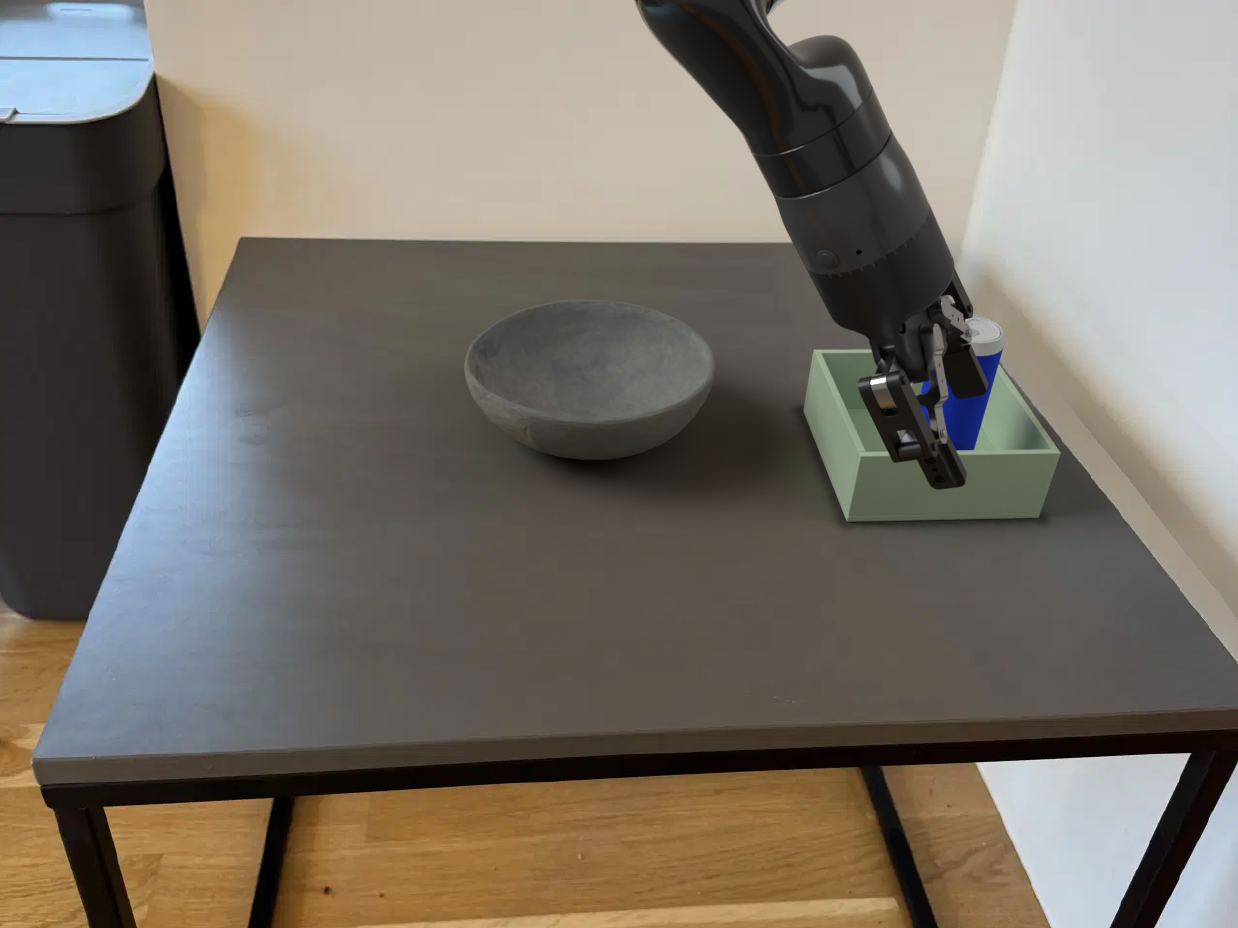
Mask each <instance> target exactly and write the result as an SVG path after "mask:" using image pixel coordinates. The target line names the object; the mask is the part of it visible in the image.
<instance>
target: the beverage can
mask: <svg viewBox="0 0 1238 928" xmlns="http://www.w3.org/2000/svg"><path fill="white" fill-rule="evenodd" d="M965 323H967V324H968V325H969V326H970V329H971V330H972V342H971V343H969V344H971V346H972V348H973V350H974V353H975V355H976V357H977V359H978V361H979V364H980V366H981V368H982V370H983V373H984V375H985V377H986V379H987V382H988V386H987V390H986V393H985V394H984V395H981V396H975V397H970V398H964V399H958V398H956V397H955V396H954V395H953V393H952V391H951V389H950V387H949V385H948V383H947V381H946V384H947V390H948V399H947V400H946V401H945V402H944V403H943V405H942V409H943V415H944V420H945V426H946V431H947V434H948V435H949V437H950V439H951V441H952V443H953V445H954V447H955V449H956V451H959V450H974V449H975V445H976V442H977V438H978V435H979V431H980V428H981V424H982V421H983V417H984V414H985V410H986V407H987V403H988V400H989V396H990V393H991V389H992V386H993V382H994V379H995V375H996V372H997V369H998V365H1000V362H1001V357H1002V355H1003V351H1004V348H1005V339H1004V330H1003V328H1002V327H1001V326H1000V325H999V324H998V323H997V322H995V321H993V320H992V319H989V318H988V317H985V316H982V315H979V314H974V313H973V317H972V318H969V319H965ZM929 388H930V381H927V382H923V385H922V389H921V394H922V393H925V392H927V391H928V390H929ZM921 409H922V411H923V413H924V415H925V417H926V420H927V422H928V424H929V425H930V422H929V417H928V411H927V409H926V407H924V406H921Z"/></svg>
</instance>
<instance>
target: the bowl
mask: <svg viewBox="0 0 1238 928" xmlns="http://www.w3.org/2000/svg"><path fill="white" fill-rule="evenodd" d="M465 355H466V356H465V360H464V364H463V369H464V376H465V381H466V384H467V387H468V390H469V392H470V394H471V396H472V399H473V401H474V402H475V403H476V405H477V406H478V407H479V409H481V411H482V412H483V413H484V414H485V416H486V417H487V418H488V419H489V420H490V421H491V422H492V423H493V424H494V425H495V426H496V427H497V428H499V429H500V430H501V431H502V432H503V433H505V434H506V435H507V436H509V437H510V438H511V439H513V440H515V441H517V442H518V443H520V444H521V445H523V446H525V447H527V448H529V449H531V450H534V451H537V452H540V453H543V454H547V455H550V456H555V457H559V458H566V459H573V460H583V461H584V460H585V461H591V460H592V461H603V460H616V459H622V458H627V457H628V458H629V457H632V456H635V455H636V456H637V455H639V454H642V453H645V452H647V451H650V450H652V449H655V448H657V447H660V446H661V445H663V444H665V443H667V442H668V441H670V440H672V439H673V438H675V436H677V435H678V434H679V433H681V431H683V430H684V428H685V427H686V426H687V425H689V423H690V422H691V421H692V420H693V419H694V418H695V416H697V414H698V413H699V411H700V409H701V408H702V407H703V405H704V404H705V402H706V400H707V398H708V396H709V394H710V392H711V390H712V387H713V385H714V382H715V378H716V374H717V359H716V356H715V354H714V350H713V349H712V347H711V346H710V344H709V342H708V341H707V340H706V339H705V338H704V337H703V336H702V335H701V334H700V333H699V332H697V331H696V330H695V329H693V328H692V327H691V326H689V324H687V323H685V322H684V321H681V320H680V319H677V318H676V317H674V316H671V315H670V314H667V313H664V312H661V311H659V310H656V309H653V308H650V307H648V306H643V305H640V304H634V303H629V302H623V301H614V300H604V299H563V300H555V301H549V302H545V303H540V304H536V305H533V306H529V307H526V308H523V309H520V310H518V311H514V312H512V313H510V314H509V315H507V316H505V317H503V318H501V319H499V320H498V321H495V323H493V324H491V325H490V326H489V327H487V328H486V329H485V330H484V331H482V332H481V333H480V334H478V336H477V337H476V338H475V339H474V340H473V341H472V342H471V344H470V345H469V346H468V350H467V352H466V354H465Z"/></svg>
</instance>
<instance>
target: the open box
mask: <svg viewBox="0 0 1238 928" xmlns="http://www.w3.org/2000/svg"><path fill="white" fill-rule="evenodd" d="M811 356H812V357H811V363H810V369H809V375H808V380H807V387H806V392H805V393H806V394H805V398H804V404H803V410H802V411H803V414H804V416H805V418H806V422H807V424H808V427H809V430H810V432H811V434H812V437H813V440H814V442H815V444H816V447H817V450H818V452H819V455H820V457H821V460H822V462H823V465H824V467H825V470H826V472H827V475H828V478H829V480H830V482H831V485H832V488H833V490H834V493H835V495H836V498H837V501H838V503H839V505H840V508H841V511H842V513H843V516H844V518H845V520H846V522H847V523H852V522H854V523H856V522H857V523H859V522H898V521H899V522H900V521H904V522H905V521H948V520H949V521H952V520H955V521H957V520H997V519H998V520H1000V519H1002V520H1003V519H1004V520H1005V519H1039V518H1040V515H1041V512H1042V509H1043V506H1044V504H1045V500H1046V497H1047V495H1048V492H1049V489H1050V486H1051V484H1052V480H1053V477H1054V475H1055V471H1056V469H1057V466H1058V462H1059V459H1060V457H1061V454H1062V453H1061V451H1060V450H1059V449H1058V447H1057V446H1056V444H1055V443H1054V441H1053V439H1052V438H1051V437H1050V435H1049V434H1048V432H1047V431H1046V429H1045V428H1044V426H1043V425H1042V424H1041V422H1040V421H1039V419H1038V418H1037V417H1036V415H1035V414H1034V412H1033V411H1032V409H1031V408H1030V406H1029V405H1028V404H1027V402H1026V401H1025V400H1024V398H1023V396H1022V395H1021V393H1020V392H1019V391H1018V389H1017V388H1016V386H1015V385H1014V384H1013V381H1012V380H1011V379H1010V378H1009V376H1008V375H1007V373H1006V372H1005V370H1004V369H1003V367H1002V366H1001V364H999V365H998V369H997V372H996V375H995V379H994V382H993V386H992V389H991V393H990V396H989V400H988V403H987V407H986V410H985V414H984V417H983V421H982V424H981V428H980V431H979V435H978V438H977V442H976V445H975V449H974V450H959V451H957V453H958V455H959V457H960V459H961V461H962V464H963V466H964V468H965V470H966V472H967V478H966V482H965V485H964V486H962V487H957V488H949V489H941V490H937V489H934V488H932V487H931V486H930V485H929V483H928V481H927V479H926V477H925V475H924V473H923V471H922V469H921V467H920V465H919V463H918V461H917V460H912V461H906V462H899V463H894V462H893V461H892V459H891V457H890V455H889V453H888V451H887V449H886V447H885V445H884V443H883V441H882V439H881V437H880V435H879V432H878V430H877V428H876V426H875V424H874V422H873V420H872V418H871V416H870V414H869V412H868V410H867V408H866V406H865V404H864V401H863V399H862V397H861V395H860V393H859V389H858V381H859V379H860V378H863V377H868V376H873V375H874V374H875V372H876V369H877V365H875V363H874V361H873V357H872V351H871V348H870V349H866V348H865V349H860V348H859V349H813V351H812V355H811ZM922 385H923V382H921V383H916V384H914V387H915V388H914V390H913V391H914V393H915V395H916V394H921V389H922ZM897 433H898V435H899V432H898V431H897Z"/></svg>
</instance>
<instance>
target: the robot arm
mask: <svg viewBox="0 0 1238 928" xmlns="http://www.w3.org/2000/svg"><path fill="white" fill-rule="evenodd" d="M633 1H634V4H635V7H636V9H637V12H638V13H639V16H640V18H641V21H642V22H643V23H644V25H645V27H646V28H647V30H648V31H649V33H650V34H651V35H652V37H653V38H654V39H655V41H657V42H658V44H659V45H660V46H661V47H662V48H663V49H664V50H665V51H666V52H667V53H668V55H669V56H670V57H672V59H673V60H674V61H675V62H676V63H677V64H678V65H679V66H680V67H681V68H682V69H683V70H684V71H685V72H686V73H687V75H689V76H690V77H691V78H692V79H693V80H694V81H695V83H696V84H697V85H698V86H699V87H700V88H701V89H702V91H703V92H704V93H705V94H706V95H707V96H708V97H709V98H710V99H711V101H713V103H714V104H715V105H716V106H717V107H718V108H719V109H720V110H721V112H722V113H724V114H725V116H726V117H727V118H728V119H729V120H730V121H731V122H732V123H733V124H734V126H735V127H736V128H737V129H738V131H739V132H740V134H741V135H742V137H743V138H744V141H745V143H746V145H747V147H748V149H749V152H750V153H751V155H752V157H753V159H754V161H755V164H756V165H757V166H758V169H759V171H760V172H761V175H762V177H763V178H764V180H765V182H766V185H767V186H768V189H769V190H770V192H771V194H772V196H773V199H774V201H775V203H776V206H777V209H778V213H779V215H780V218H781V222H782V223H783V226H784V228H785V231H786V233H787V235H788V236H789V238H790V241H791V243H792V244H793V246H794V248H795V250H796V252H797V254H798V256H799V258H800V260H801V262H802V263H803V266H804V268H805V269H806V272H807V273H808V275H809V277H810V279H811V281H812V283H813V285H814V287H815V289H816V291H817V293H818V295H819V297H820V299H821V300H822V302H823V304H824V306H825V308H826V310H827V312H828V314H829V316H830V318H831V319H832V320H833V322H834V323H835V324H836V325H838V326H839V327H841V328H843V329H845V330H848V331H852V332H854V333H857V334H860V335H862V336H863V337H866V338H867V339H868V344H869V347H870V349H871V351H872V357H873V361H874V363H875V365H877V369H876V372H875V374H874V375H873V376H868V377H863V378H860V379H859V381H858V389H859V393H860V395H861V397H862V399H863V401H864V404H865V406H866V408H867V410H868V412H869V414H870V416H871V418H872V420H873V422H874V424H875V426H876V428H877V430H878V432H879V435H880V437H881V439H882V441H883V443H884V445H885V447H886V449H887V451H888V453H889V455H890V457H891V459H892V461H893V462H894V463H899V462H906V461H912V460H917V461H918V463H919V465H920V467H921V469H922V471H923V473H924V475H925V477H926V479H927V481H928V483H929V485H930V486H931V487H932V488H934V489H937V490H941V489H949V488H957V487H962V486H964V485H965V482H966V478H967V472H966V470H965V468H964V466H963V464H962V461H961V459H960V457H959V455H958V453H957V451H956V449H955V447H954V445H953V443H952V441H951V439H950V437H949V435H948V434H947V431H946V426H945V420H944V415H943V409H942V405H943V403H944V402H945V401H946V400H947V399H948V390H947V384H946V381H947V383H948V385H949V387H950V389H951V391H952V393H953V395H954V396H955V397H956V398H958V399H964V398H970V397H975V396H981V395H984V394H985V393H986V390H987V386H988V382H987V379H986V377H985V375H984V373H983V370H982V368H981V366H980V364H979V361H978V359H977V357H976V355H975V353H974V350H973V348H972V346H971V344H969V343H971V342H972V330H971V329H970V326H969V325H968V324H967V323H965V319H969V318H972V317H973V314H974V305H973V304H972V301H971V299H970V297H969V296H968V293H967V291H966V289H965V287H964V285H963V283H962V280H961V278H960V276H959V274H958V272H957V270H956V268H955V259H954V257H953V254H952V252H951V250H950V248H949V246H948V243H947V241H946V239H945V236H944V234H943V232H942V230H941V227H940V225H939V222H938V219H937V218H936V215H935V213H934V211H933V209H932V206H931V204H930V201H929V200H928V197H927V195H926V193H925V190H924V188H923V186H922V183H921V181H920V179H919V177H918V174H917V171H916V170H915V168H914V165H913V164H912V162H911V159H910V158H909V156H908V154H907V153H906V151H905V150H904V148H903V146H902V145H901V143H900V142H899V140H898V139H897V137H896V135H895V133H894V131H893V129H892V127H891V126H890V124H889V122H888V121H889V120H888V119H887V117H886V114H885V112H884V109H883V107H882V105H881V103H880V100H879V98H878V96H877V94H876V91H875V89H874V87H873V84H872V81H871V79H870V77H869V75H868V73H867V70H866V68H865V67H864V64H863V62H862V60H861V58H860V57H859V55H858V53H857V52H856V50H855V49H854V47H853V46H852V45H851V44H850V43H849V42H848V41H847V40H845V39H843V38H841V36H838V35H832V34H821V35H814V36H810V37H806V38H804V39H802V40H799V41H796V42H794V43H792V44H790V45H788V46H787V45H786V44H785V43H784V42H783V41H782V40H781V39H780V37H779V36H778V35H777V34H776V33H775V31H774V30H773V28H772V26H771V25H770V22H769V19H768V17H769V16H770V15H771V14H772V13H773V12H774V11H775V10H776V9H777V8H778V7H779V6H781V4H782V3H784V1H785V0H633ZM945 296H949V297H951V298H952V299H953V303H951V301H950V300H949V299H948V298H946V297H945ZM927 381H930V388H929V390H928V391H927V392H925V393H922V394H916V395H915V393H914V391H913V390H914V388H915V387H914V384H916V383H921V382H927ZM921 406H924V407H926V409H927V411H928V417H929V422H930V425H929V424H928V422H927V420H926V417H925V415H924V413H923V411H922V409H921ZM897 431H898V432H899V435H898V433H897Z"/></svg>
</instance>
